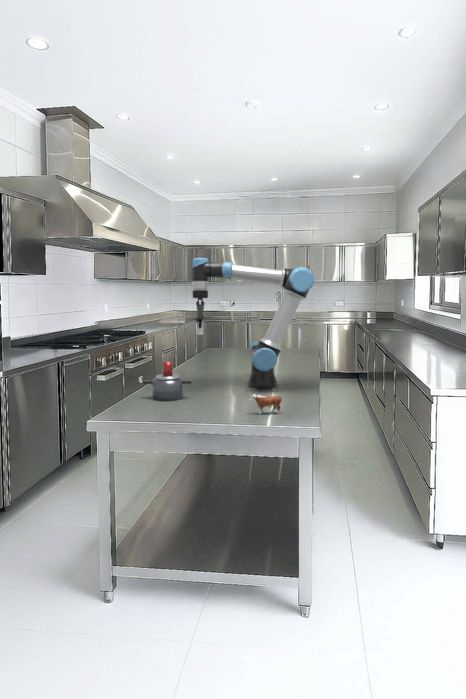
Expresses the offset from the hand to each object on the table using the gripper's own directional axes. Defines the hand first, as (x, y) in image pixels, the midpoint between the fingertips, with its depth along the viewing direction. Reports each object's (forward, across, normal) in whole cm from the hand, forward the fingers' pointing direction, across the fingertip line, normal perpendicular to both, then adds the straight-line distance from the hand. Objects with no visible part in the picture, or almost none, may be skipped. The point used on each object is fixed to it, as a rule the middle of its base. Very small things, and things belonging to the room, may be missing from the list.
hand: (200, 333), depth 272 cm
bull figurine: (+29, +48, +28) cm, 63 cm away
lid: (+20, +17, -15) cm, 30 cm away
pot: (+29, +17, -15) cm, 37 cm away
